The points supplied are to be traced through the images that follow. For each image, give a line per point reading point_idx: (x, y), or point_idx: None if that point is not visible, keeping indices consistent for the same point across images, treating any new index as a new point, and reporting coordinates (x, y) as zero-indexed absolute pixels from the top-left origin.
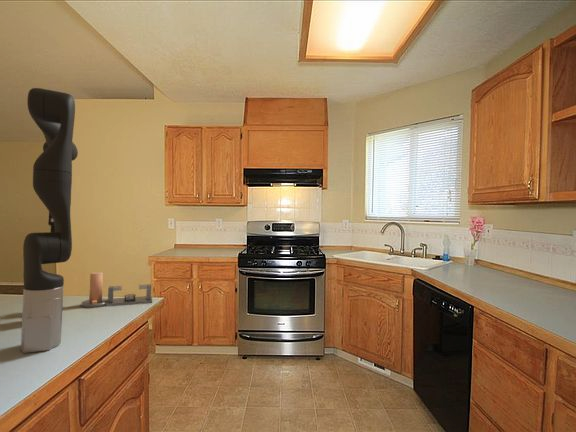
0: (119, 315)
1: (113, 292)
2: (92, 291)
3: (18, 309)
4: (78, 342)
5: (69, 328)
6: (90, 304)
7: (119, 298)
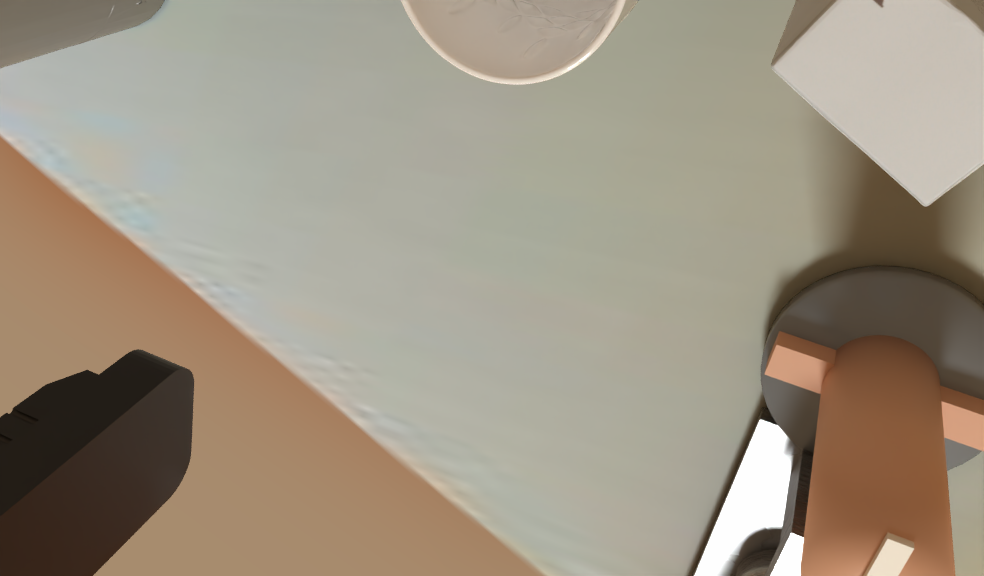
0: (465, 397)
1: None
2: (834, 409)
3: None
4: (96, 105)
5: (328, 95)
6: (796, 325)
7: None
